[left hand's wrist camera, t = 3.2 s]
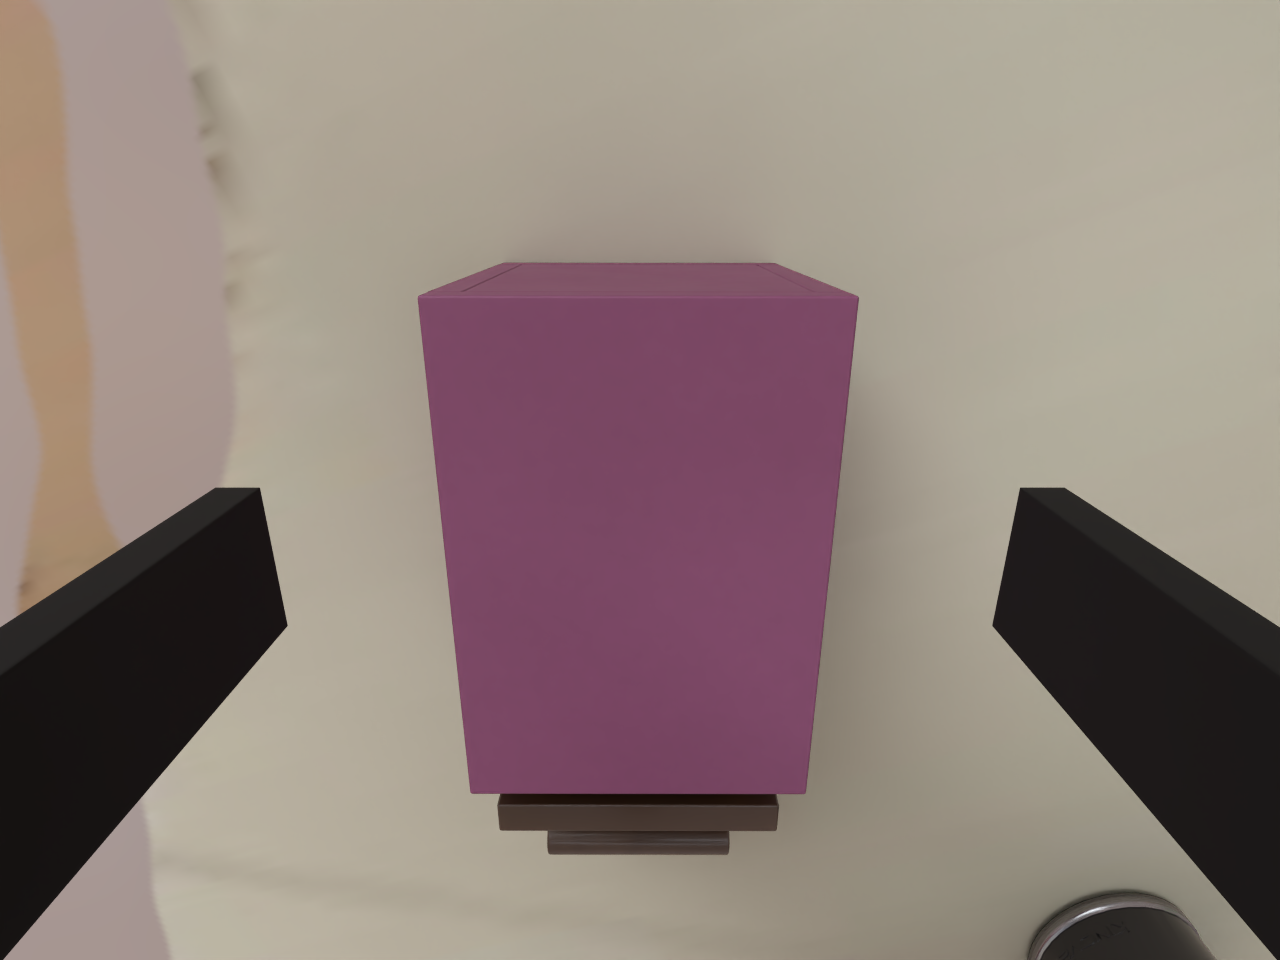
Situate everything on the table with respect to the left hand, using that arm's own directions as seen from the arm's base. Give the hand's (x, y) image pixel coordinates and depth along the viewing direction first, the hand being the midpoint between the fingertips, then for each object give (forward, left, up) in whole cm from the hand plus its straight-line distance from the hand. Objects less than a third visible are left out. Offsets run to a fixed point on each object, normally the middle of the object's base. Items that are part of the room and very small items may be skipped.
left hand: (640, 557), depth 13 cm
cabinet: (+4, 0, -18) cm, 19 cm away
